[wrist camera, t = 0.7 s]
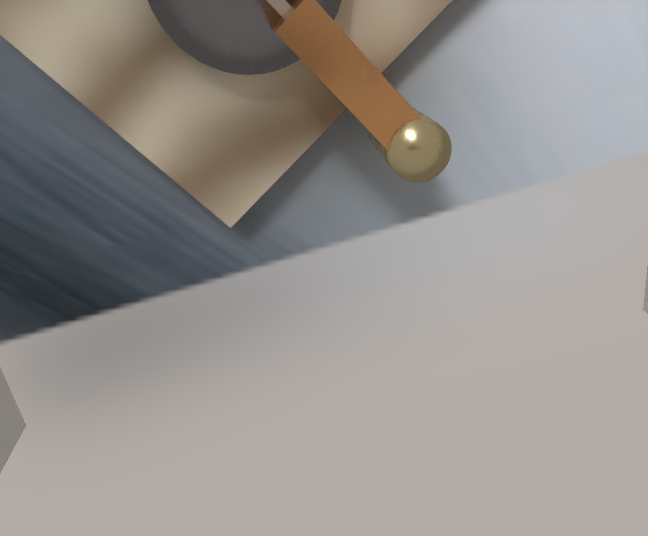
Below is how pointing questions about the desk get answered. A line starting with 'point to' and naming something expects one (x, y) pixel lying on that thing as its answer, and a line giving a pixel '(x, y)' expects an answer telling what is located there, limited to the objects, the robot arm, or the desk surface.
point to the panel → (199, 89)
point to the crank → (319, 56)
